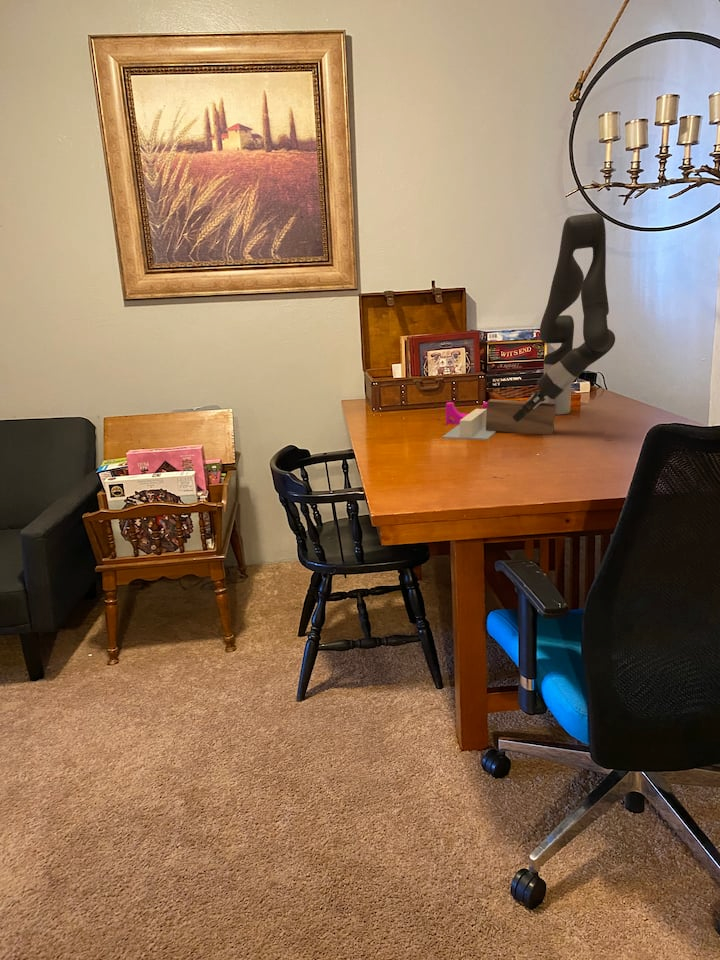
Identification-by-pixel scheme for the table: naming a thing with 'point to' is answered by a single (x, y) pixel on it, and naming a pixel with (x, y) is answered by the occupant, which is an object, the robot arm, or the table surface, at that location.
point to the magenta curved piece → (456, 413)
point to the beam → (531, 423)
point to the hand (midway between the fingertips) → (517, 417)
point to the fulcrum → (472, 427)
